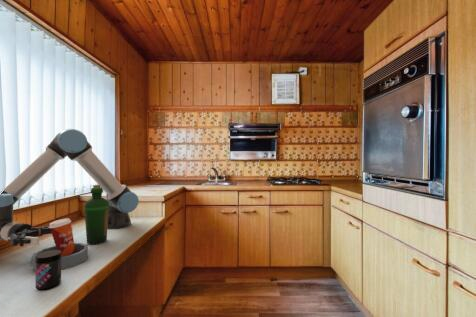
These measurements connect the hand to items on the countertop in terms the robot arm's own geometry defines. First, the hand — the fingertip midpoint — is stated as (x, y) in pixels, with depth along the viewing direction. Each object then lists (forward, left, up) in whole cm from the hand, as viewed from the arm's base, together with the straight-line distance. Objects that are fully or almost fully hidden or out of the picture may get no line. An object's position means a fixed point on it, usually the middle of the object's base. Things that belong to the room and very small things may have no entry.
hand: (56, 236), depth 99 cm
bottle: (-15, -17, -10) cm, 25 cm away
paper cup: (-4, -2, -8) cm, 10 cm away
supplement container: (0, +23, -10) cm, 25 cm away
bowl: (-2, +2, -10) cm, 10 cm away
